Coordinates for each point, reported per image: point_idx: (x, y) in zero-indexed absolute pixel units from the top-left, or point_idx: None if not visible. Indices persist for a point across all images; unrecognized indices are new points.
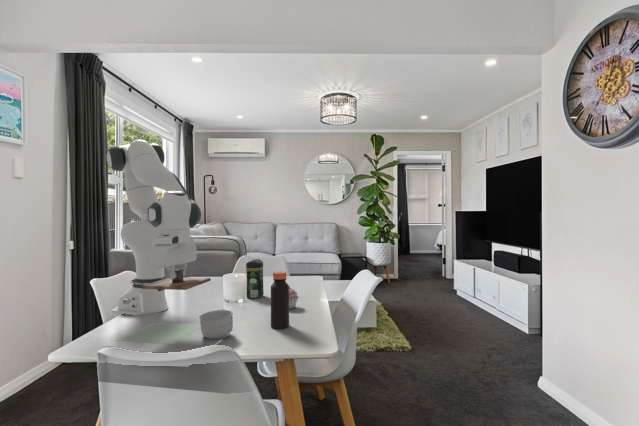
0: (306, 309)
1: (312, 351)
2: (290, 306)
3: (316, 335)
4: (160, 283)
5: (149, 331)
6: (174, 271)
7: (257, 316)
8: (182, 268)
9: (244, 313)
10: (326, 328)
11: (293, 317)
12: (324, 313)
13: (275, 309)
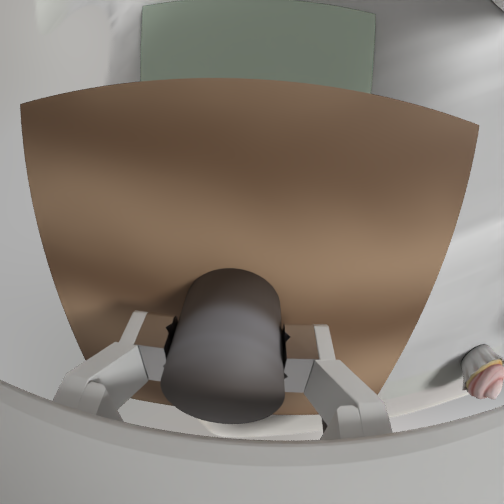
0: (449, 385)
1: (209, 424)
2: (462, 369)
3: (283, 425)
4: (126, 200)
5: (256, 48)
6: (125, 398)
7: (430, 325)
8: (326, 402)
9: (465, 286)
10: (321, 429)
11: (401, 385)
12: (412, 411)
13: (324, 421)
